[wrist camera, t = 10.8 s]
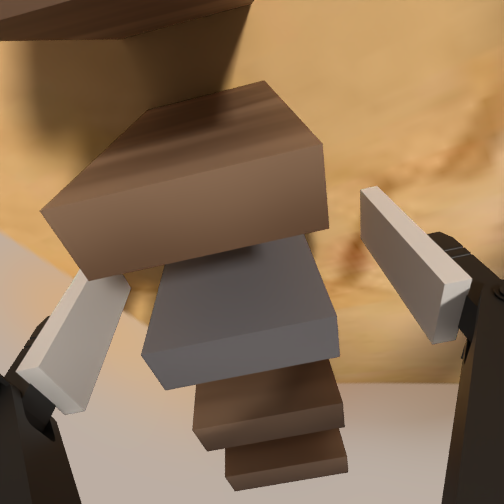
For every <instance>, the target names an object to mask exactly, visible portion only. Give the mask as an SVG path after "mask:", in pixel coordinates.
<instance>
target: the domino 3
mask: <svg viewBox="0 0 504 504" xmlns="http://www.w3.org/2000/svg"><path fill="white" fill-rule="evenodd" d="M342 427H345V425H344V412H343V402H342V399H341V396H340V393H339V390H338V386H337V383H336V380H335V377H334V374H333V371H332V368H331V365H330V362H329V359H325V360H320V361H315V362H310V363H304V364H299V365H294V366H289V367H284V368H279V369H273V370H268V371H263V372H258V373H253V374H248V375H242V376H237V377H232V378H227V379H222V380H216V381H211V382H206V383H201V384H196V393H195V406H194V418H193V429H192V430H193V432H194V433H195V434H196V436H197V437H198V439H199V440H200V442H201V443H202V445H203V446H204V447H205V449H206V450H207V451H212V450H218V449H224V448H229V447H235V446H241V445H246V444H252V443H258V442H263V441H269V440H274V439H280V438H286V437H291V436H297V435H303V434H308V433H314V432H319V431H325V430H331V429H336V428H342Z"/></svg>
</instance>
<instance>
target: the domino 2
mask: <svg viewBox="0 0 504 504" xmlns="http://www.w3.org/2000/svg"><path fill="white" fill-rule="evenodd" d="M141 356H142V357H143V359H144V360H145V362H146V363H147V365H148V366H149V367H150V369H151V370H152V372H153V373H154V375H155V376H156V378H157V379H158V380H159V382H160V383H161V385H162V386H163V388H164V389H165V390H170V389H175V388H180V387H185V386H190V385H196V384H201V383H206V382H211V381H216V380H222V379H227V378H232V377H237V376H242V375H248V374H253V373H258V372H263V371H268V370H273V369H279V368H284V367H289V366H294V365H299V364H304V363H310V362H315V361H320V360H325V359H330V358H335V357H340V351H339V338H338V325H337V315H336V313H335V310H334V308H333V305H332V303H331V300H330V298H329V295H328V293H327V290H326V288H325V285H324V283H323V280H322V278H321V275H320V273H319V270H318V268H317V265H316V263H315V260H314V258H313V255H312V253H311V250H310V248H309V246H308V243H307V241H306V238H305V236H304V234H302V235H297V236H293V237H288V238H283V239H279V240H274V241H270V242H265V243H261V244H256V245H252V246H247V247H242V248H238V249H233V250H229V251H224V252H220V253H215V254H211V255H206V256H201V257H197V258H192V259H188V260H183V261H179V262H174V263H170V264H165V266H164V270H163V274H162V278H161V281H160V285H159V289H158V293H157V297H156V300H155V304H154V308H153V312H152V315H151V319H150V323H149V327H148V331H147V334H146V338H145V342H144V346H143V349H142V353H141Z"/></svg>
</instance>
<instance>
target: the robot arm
mask: <svg viewBox="0 0 504 504" xmlns="http://www.w3.org/2000/svg"><path fill="white" fill-rule="evenodd" d="M360 210H361V240H362V241H363V243H364V244H365V246H366V247H367V249H368V250H369V251H370V253H371V254H372V256H373V257H374V259H375V260H376V262H377V263H378V265H379V266H380V268H381V269H382V271H383V272H384V274H385V275H386V277H387V278H388V280H389V281H390V282H391V284H392V285H393V287H394V288H395V290H396V291H397V293H398V294H399V296H400V297H401V299H402V300H403V302H404V303H405V305H406V306H407V308H408V309H409V311H410V312H411V313H412V315H413V316H414V318H415V319H416V321H417V322H418V324H419V325H420V327H421V328H422V330H423V331H424V333H425V334H426V336H427V337H428V339H429V340H430V342H431V343H432V344H437V343H443V342H448V341H453V340H456V337H457V333H458V330H459V329H460V330H461V331H462V333H463V334H464V335H465V336H466V338H467V340H466V343H465V346H464V350H463V353H462V356H461V359H463V362H462V369H461V376H460V382H459V390H458V396H457V403H456V409H455V417H454V423H453V430H452V437H451V443H450V450H449V457H448V463H447V470H446V477H445V484H444V490H443V498H442V504H504V280H502V279H500V278H499V277H498V276H496V275H495V274H494V273H493V272H492V271H491V270H490V269H488V268H487V267H486V266H485V265H484V264H483V263H482V262H480V261H479V260H478V259H477V258H476V257H475V256H474V255H471V254H470V252H469V251H468V250H467V249H466V248H463V246H462V245H461V244H460V243H459V242H458V241H456V240H455V239H454V238H453V237H451V236H448V235H446V234H444V233H441V232H435V233H431V234H426V233H425V232H424V231H423V230H422V229H421V228H420V227H419V226H418V225H417V224H416V223H415V222H414V221H413V220H412V219H411V218H409V217H408V216H407V215H406V214H405V213H404V212H403V211H402V210H401V209H400V208H399V207H398V206H397V205H396V204H395V203H394V202H393V201H392V200H391V199H390V198H389V197H388V196H387V195H386V194H385V193H384V192H383V191H382V190H381V189H380V188H379V187H378V186H374V187H370V188H365V189H361V190H360ZM130 290H131V287H130V286H129V284H128V282H127V281H126V279H125V277H124V276H123V274H120V275H115V276H110V277H106V278H101V279H97V280H92V281H88V280H87V278H86V277H85V275H84V274H83V272H82V271H81V270H79V271H78V273H77V274H76V276H75V278H74V279H73V281H72V282H71V284H70V286H69V287H68V289H67V291H66V292H65V293H64V295H63V297H62V298H61V300H60V301H59V303H58V305H57V306H56V308H55V309H54V311H53V313H52V314H51V316H48V317H47V318H46V319H44V321H43V322H41V323H40V324H39V325H38V326H37V327H36V329H35V331H34V332H33V334H32V335H31V337H30V340H28V341H27V343H26V344H25V346H24V349H22V351H21V352H20V354H19V355H18V357H17V358H16V360H15V362H14V363H13V364H12V366H11V367H10V369H9V370H8V372H7V374H6V375H5V377H3V376H2V375H1V374H0V504H81V500H80V497H79V494H78V490H77V487H76V484H75V481H74V478H73V474H72V471H71V468H70V464H69V461H68V458H67V454H66V451H65V448H64V445H63V441H62V438H61V435H60V432H59V428H58V425H57V422H56V421H55V419H54V418H53V417H51V415H52V413H53V411H54V409H55V407H57V408H58V409H59V410H60V411H61V412H62V413H63V414H65V415H67V414H72V413H78V412H83V411H85V410H86V407H87V404H88V402H89V399H90V396H91V394H92V391H93V388H94V385H95V383H96V380H97V378H98V375H99V372H100V370H101V367H102V364H103V361H104V359H105V356H106V354H107V351H108V348H109V346H110V343H111V340H112V338H113V335H114V332H115V330H116V327H117V324H118V322H119V319H120V316H121V314H122V311H123V308H124V306H125V303H126V300H127V298H128V295H129V292H130Z"/></svg>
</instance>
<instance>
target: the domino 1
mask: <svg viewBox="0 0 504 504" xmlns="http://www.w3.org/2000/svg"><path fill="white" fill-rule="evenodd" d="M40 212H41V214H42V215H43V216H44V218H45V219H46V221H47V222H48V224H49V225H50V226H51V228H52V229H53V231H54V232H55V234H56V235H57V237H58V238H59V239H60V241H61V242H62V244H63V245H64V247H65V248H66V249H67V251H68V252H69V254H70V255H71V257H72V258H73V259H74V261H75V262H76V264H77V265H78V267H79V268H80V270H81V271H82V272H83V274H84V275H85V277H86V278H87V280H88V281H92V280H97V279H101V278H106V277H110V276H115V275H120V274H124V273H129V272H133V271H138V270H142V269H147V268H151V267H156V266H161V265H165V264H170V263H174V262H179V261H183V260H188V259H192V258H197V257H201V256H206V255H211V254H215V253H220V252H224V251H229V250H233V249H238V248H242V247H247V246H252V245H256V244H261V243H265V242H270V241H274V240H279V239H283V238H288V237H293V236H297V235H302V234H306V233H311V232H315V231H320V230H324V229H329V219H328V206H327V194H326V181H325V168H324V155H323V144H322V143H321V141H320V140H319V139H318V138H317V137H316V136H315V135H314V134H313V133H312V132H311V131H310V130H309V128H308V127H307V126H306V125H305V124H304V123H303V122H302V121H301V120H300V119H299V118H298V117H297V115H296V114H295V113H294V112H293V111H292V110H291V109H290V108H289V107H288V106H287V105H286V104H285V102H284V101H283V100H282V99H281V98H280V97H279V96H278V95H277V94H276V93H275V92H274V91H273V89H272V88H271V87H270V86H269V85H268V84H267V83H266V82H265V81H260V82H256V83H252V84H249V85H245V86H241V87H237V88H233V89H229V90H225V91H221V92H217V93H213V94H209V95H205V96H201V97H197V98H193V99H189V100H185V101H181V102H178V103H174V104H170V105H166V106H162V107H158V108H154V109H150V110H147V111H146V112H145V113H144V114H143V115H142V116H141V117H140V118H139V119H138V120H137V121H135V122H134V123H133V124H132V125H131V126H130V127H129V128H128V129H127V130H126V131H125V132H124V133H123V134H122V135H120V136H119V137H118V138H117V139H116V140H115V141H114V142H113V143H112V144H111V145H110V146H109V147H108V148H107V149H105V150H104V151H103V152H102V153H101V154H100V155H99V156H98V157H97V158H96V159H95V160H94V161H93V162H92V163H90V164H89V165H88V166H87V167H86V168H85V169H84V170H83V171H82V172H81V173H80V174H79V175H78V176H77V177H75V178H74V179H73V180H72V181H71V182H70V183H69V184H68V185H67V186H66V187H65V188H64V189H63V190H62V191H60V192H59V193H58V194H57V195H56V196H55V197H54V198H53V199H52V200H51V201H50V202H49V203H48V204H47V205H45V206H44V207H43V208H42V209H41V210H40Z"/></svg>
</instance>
